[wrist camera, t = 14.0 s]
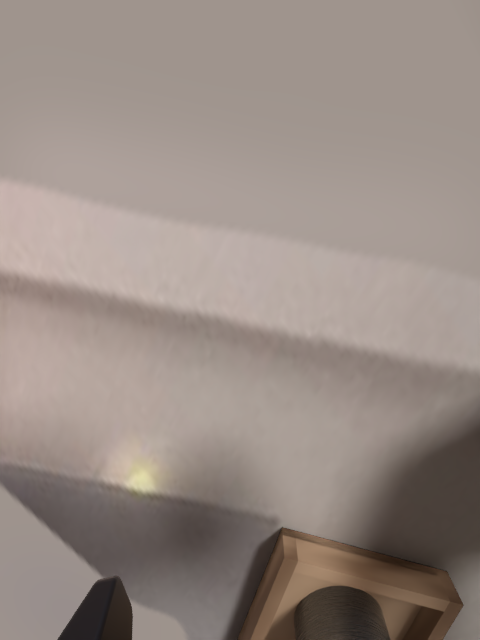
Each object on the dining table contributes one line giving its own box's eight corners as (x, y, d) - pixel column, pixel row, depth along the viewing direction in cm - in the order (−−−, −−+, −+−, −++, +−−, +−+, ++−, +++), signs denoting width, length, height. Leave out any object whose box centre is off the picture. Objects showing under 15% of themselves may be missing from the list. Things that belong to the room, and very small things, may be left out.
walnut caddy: (446, 571, 26) (463, 605, 24) (382, 684, 29) (391, 723, 27) (282, 527, 26) (284, 557, 24) (234, 647, 29) (232, 683, 27)
